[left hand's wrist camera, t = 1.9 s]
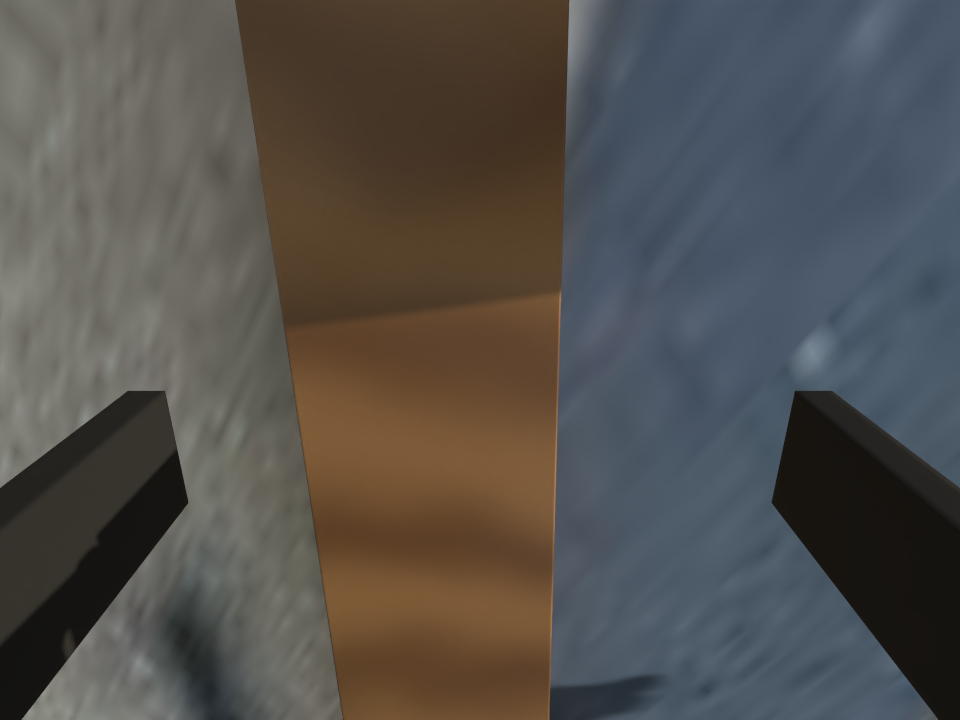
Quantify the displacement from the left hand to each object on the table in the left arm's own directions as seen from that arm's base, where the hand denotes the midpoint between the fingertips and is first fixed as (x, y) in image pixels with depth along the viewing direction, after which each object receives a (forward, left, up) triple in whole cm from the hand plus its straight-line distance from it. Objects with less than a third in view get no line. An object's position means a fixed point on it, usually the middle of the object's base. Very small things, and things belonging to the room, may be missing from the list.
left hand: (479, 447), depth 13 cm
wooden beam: (+21, +13, -14) cm, 29 cm away
